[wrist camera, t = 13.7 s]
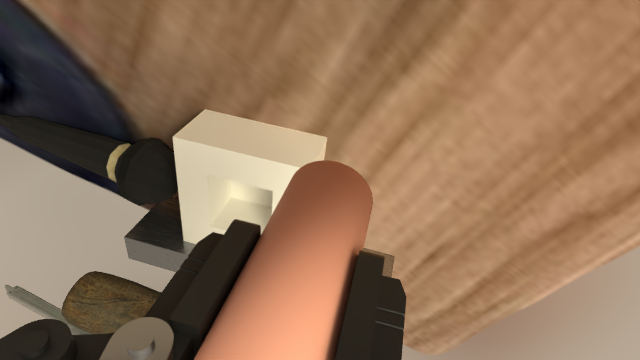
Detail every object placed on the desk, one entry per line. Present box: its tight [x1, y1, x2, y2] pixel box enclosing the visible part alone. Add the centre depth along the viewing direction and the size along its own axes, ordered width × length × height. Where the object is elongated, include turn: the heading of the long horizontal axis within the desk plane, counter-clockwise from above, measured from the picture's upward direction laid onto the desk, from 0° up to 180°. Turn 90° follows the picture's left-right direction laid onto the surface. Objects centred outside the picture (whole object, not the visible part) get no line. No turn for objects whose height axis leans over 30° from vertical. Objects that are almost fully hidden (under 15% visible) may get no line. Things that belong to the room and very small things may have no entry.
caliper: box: [5, 285, 89, 335], centre depth 52 cm, size 20×1×6 cm, turn 87°
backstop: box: [124, 197, 394, 277], centre depth 35 cm, size 22×2×6 cm, turn 83°
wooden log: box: [62, 271, 161, 334], centre depth 46 cm, size 15×7×7 cm, turn 78°
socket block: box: [173, 109, 327, 244], centre depth 32 cm, size 10×10×5 cm
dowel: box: [194, 160, 373, 360], centre depth 10 cm, size 3×3×10 cm
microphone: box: [0, 114, 178, 206], centre depth 36 cm, size 6×6×20 cm
